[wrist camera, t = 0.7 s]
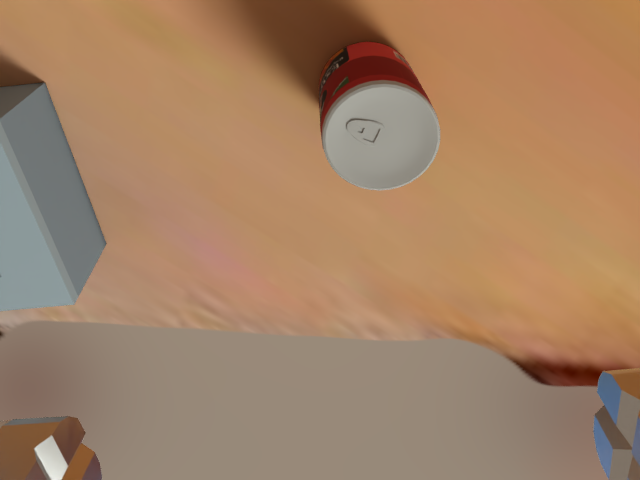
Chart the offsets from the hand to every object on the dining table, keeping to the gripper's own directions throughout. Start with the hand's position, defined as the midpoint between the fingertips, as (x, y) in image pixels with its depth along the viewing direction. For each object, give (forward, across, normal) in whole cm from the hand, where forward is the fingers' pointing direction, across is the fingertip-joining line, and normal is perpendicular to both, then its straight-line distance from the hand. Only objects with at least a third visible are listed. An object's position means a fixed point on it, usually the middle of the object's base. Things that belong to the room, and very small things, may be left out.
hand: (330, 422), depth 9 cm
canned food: (+40, -2, +3) cm, 40 cm away
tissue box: (+38, +32, +7) cm, 50 cm away
